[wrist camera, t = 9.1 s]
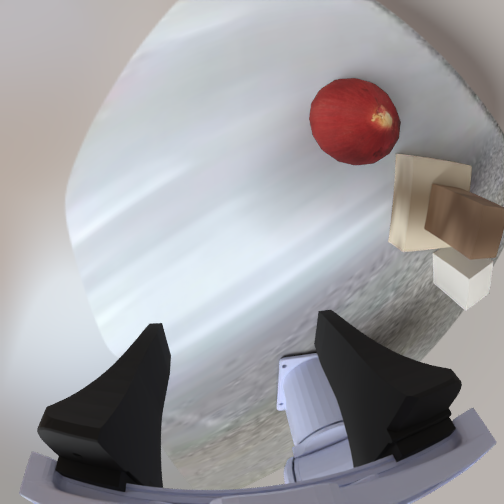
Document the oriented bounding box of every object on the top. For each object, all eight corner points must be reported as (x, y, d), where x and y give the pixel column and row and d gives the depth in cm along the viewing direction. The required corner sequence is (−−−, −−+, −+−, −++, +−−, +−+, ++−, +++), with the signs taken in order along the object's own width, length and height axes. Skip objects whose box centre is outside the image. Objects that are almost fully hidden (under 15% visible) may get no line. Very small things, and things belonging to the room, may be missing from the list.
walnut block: (452, 229, 21) (495, 257, 15) (423, 228, 20) (470, 259, 15) (460, 188, 19) (508, 209, 13) (432, 183, 18) (483, 205, 13)
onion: (369, 99, 18) (435, 90, 11) (360, 166, 20) (423, 184, 13) (301, 80, 17) (346, 50, 10) (291, 152, 19) (332, 160, 12)
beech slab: (442, 235, 24) (460, 246, 21) (385, 239, 23) (403, 252, 21) (451, 161, 21) (471, 165, 18) (392, 152, 20) (413, 156, 18)
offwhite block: (456, 268, 26) (489, 293, 20) (433, 283, 26) (465, 311, 20) (456, 239, 24) (493, 261, 19) (432, 253, 24) (469, 279, 19)
